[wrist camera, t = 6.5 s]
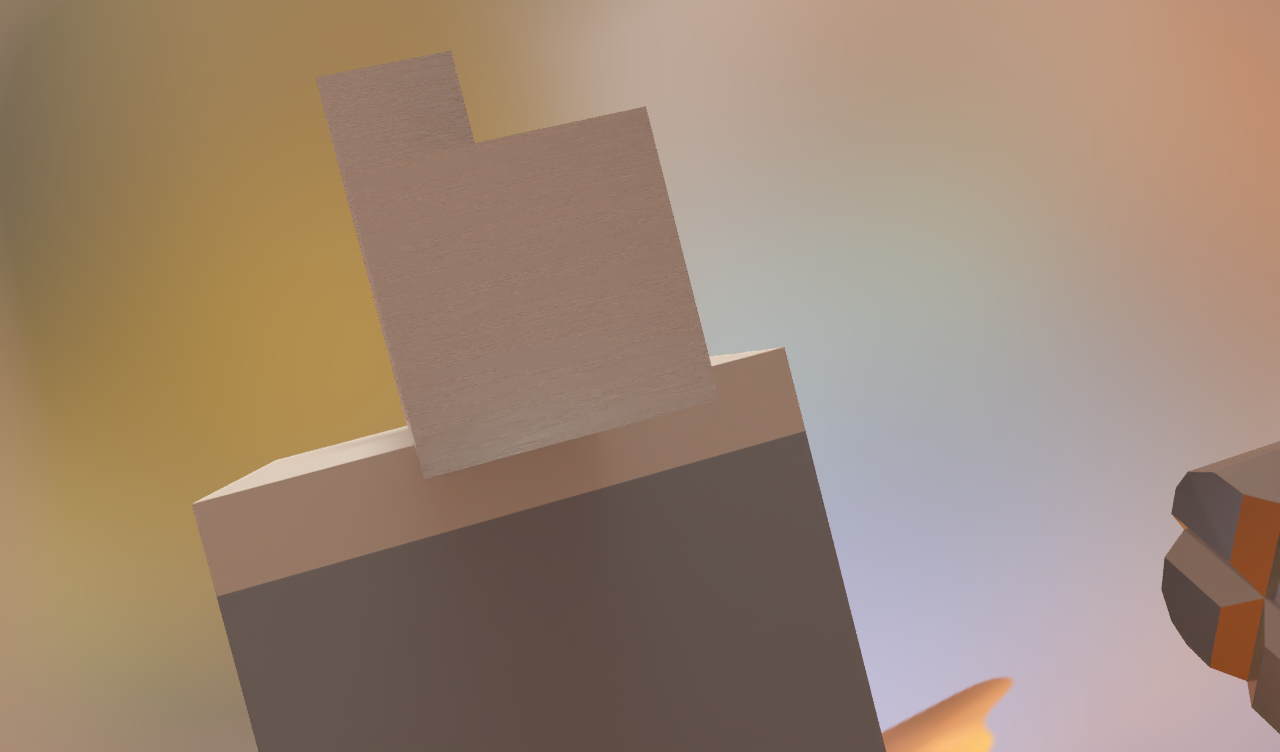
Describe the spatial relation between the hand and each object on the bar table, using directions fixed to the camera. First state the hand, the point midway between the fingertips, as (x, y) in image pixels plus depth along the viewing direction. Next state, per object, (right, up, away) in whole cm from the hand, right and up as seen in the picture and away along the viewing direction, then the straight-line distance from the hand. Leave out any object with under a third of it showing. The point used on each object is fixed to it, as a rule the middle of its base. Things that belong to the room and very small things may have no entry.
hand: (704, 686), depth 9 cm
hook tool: (-3, +2, +12) cm, 12 cm away
